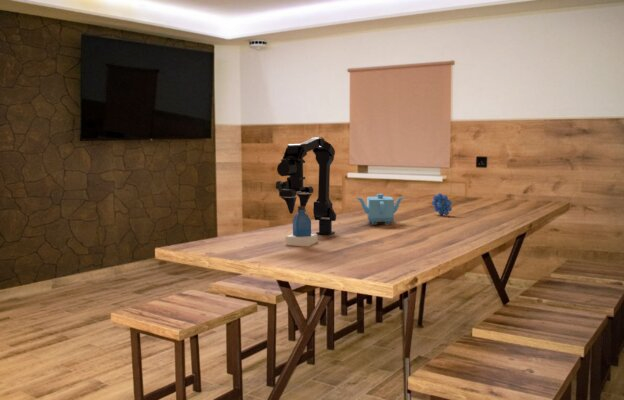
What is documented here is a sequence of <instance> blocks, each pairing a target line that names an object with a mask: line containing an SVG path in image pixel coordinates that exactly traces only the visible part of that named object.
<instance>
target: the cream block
mask: <svg viewBox="0 0 624 400" xmlns="http://www.w3.org/2000/svg"><path fill="white" fill-rule="evenodd" d="M316 243H318V234H316V233H311V236H304V237H296V236H295V235H293V233H290V234H288V235H286V236H285V246H296V247H297V246H298V247H310V246H312V245H314V244H316Z"/></svg>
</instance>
